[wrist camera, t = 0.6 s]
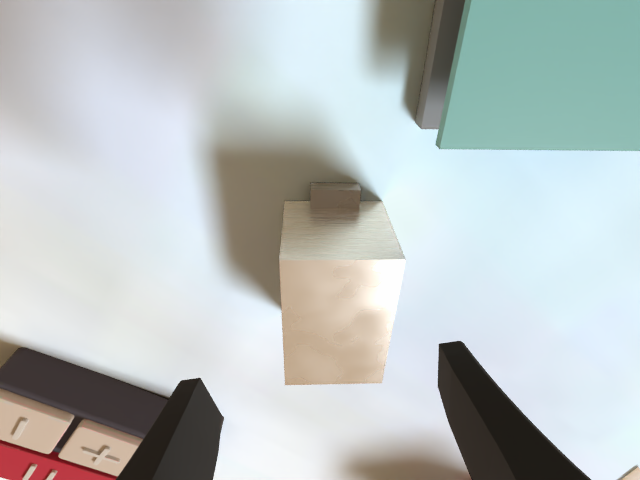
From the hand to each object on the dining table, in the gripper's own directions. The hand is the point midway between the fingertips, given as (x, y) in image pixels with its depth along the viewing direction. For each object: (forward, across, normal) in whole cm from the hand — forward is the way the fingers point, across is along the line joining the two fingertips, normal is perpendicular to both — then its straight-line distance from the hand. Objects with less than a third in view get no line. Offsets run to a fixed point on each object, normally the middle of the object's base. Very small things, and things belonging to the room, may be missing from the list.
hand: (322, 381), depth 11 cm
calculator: (+10, +19, +15) cm, 26 cm away
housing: (+10, 0, +3) cm, 10 cm away
